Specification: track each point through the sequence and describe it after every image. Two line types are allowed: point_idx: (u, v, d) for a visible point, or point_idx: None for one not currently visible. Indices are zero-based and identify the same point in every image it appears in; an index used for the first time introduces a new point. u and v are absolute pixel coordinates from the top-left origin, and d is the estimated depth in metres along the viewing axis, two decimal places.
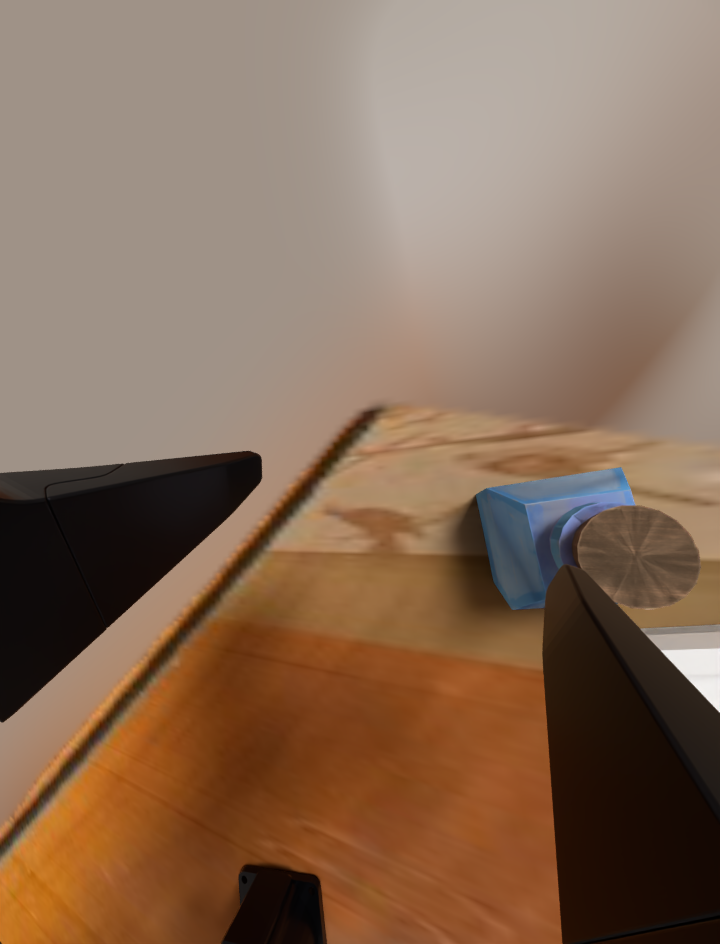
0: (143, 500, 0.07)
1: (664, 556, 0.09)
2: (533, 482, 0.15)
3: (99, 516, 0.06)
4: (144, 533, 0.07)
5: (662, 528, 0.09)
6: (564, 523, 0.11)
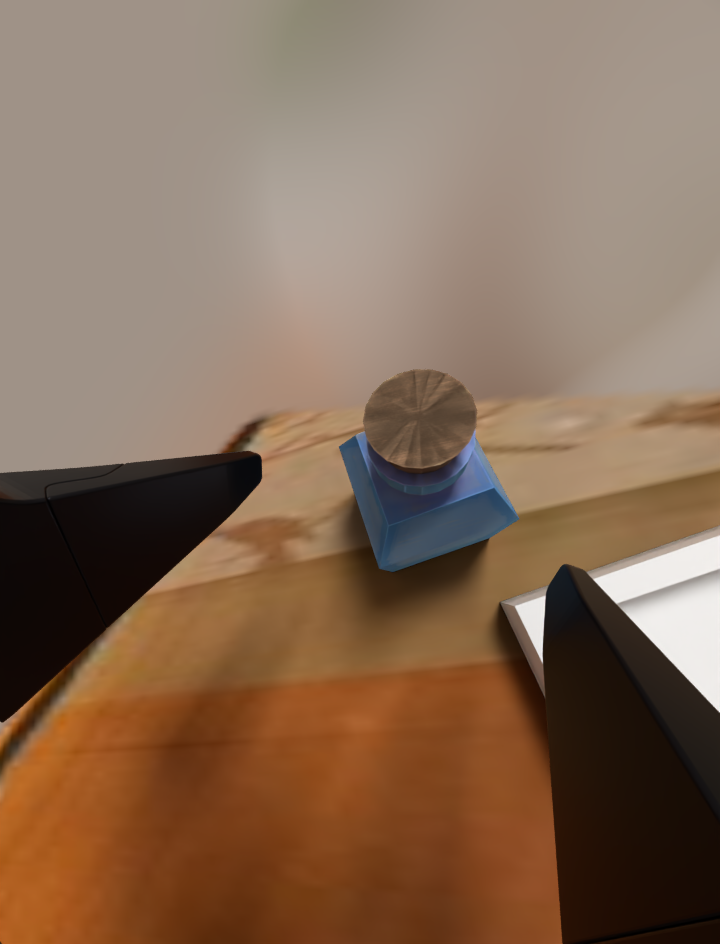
0: (143, 500, 0.07)
1: (443, 409, 0.08)
2: None
3: (99, 516, 0.06)
4: (144, 533, 0.07)
5: (436, 384, 0.09)
6: None
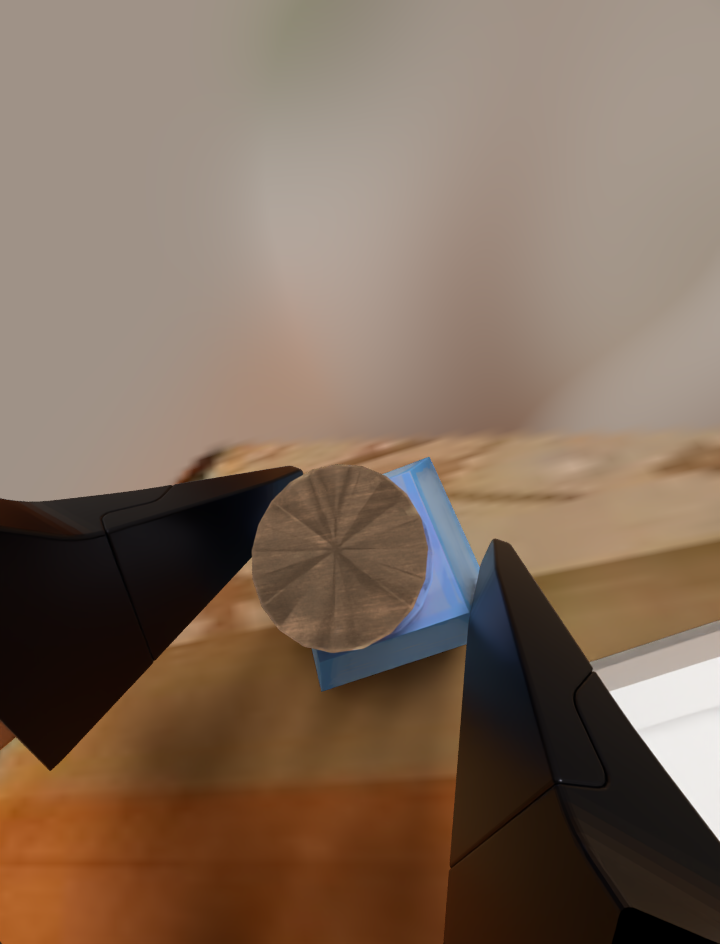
0: (196, 525, 0.06)
1: (375, 540, 0.05)
2: None
3: (154, 546, 0.06)
4: (194, 559, 0.07)
5: (368, 493, 0.05)
6: None
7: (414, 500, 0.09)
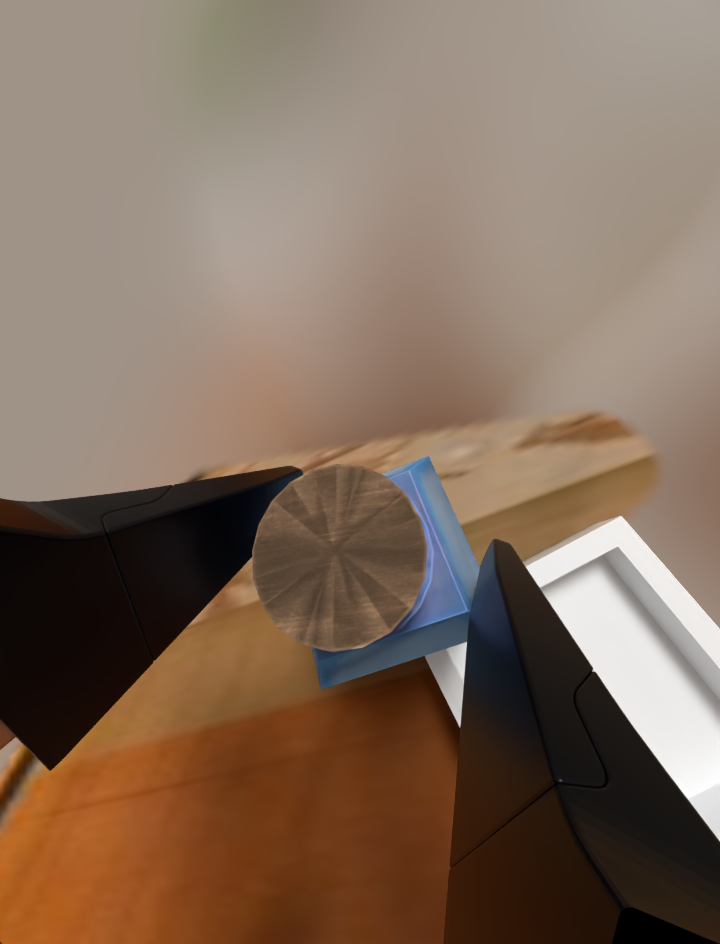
0: (196, 525, 0.06)
1: (374, 540, 0.05)
2: None
3: (154, 546, 0.06)
4: (194, 560, 0.07)
5: (368, 493, 0.06)
6: None
7: (413, 499, 0.09)
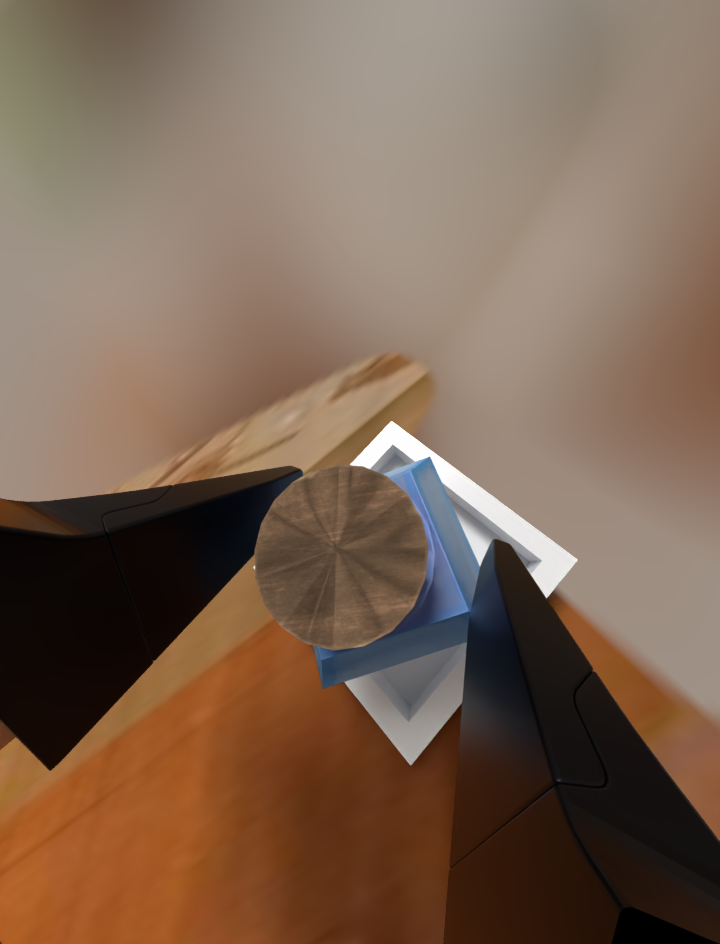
0: (196, 525, 0.06)
1: (376, 539, 0.05)
2: None
3: (154, 546, 0.06)
4: (194, 560, 0.07)
5: (369, 493, 0.06)
6: None
7: (414, 499, 0.09)
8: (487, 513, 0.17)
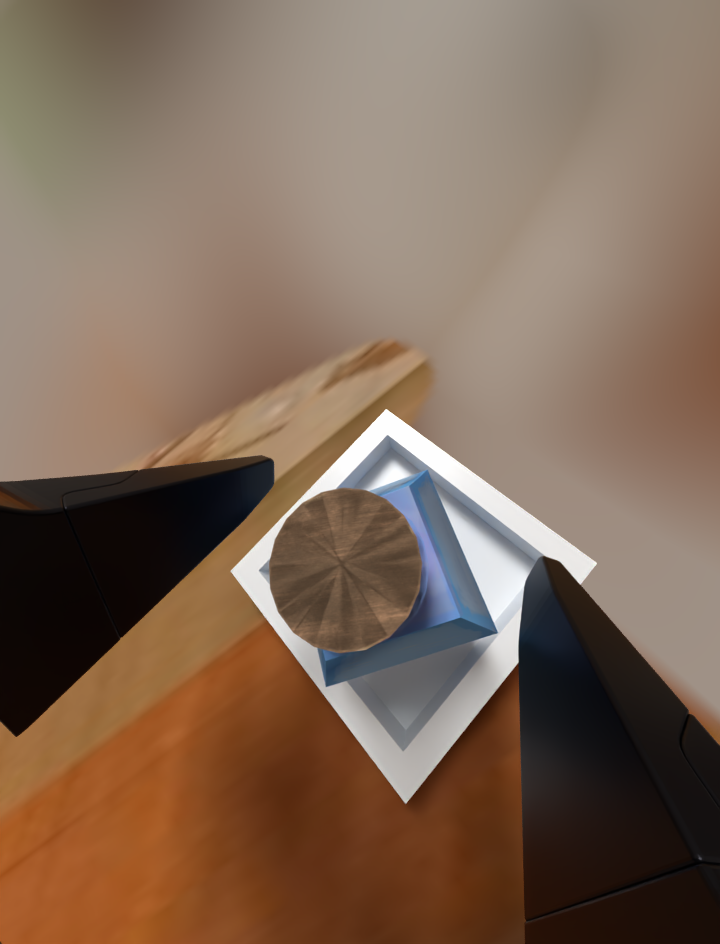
0: (159, 508, 0.07)
1: (376, 556, 0.06)
2: None
3: (116, 525, 0.06)
4: (159, 541, 0.07)
5: (371, 514, 0.06)
6: None
7: (412, 513, 0.09)
8: (493, 511, 0.15)
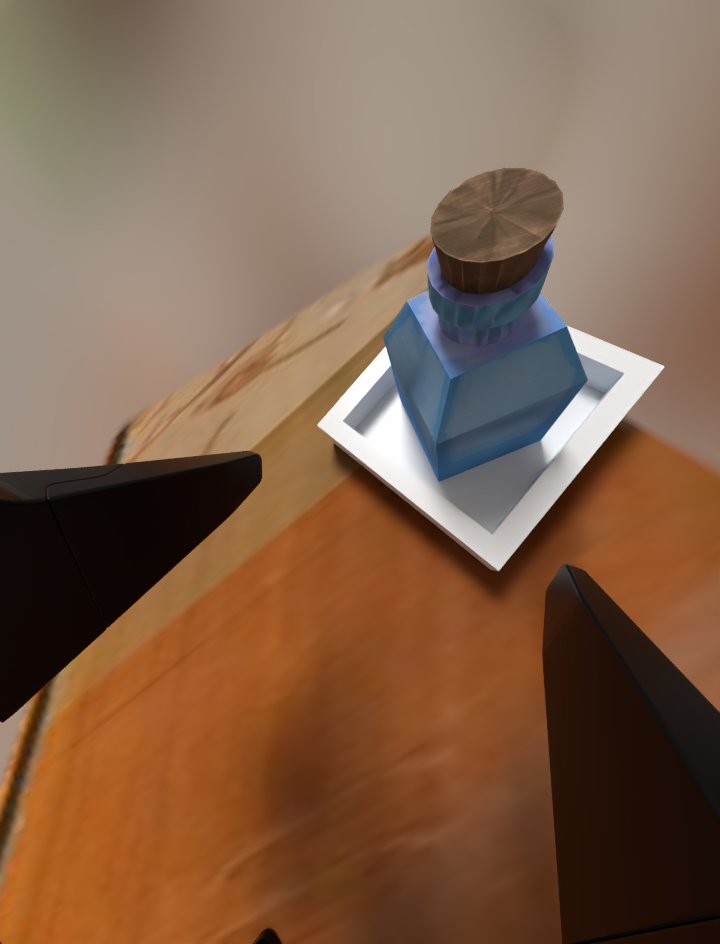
0: (143, 500, 0.07)
1: (522, 201, 0.08)
2: None
3: (99, 516, 0.06)
4: (144, 533, 0.07)
5: (512, 180, 0.08)
6: (430, 259, 0.10)
7: None
8: None
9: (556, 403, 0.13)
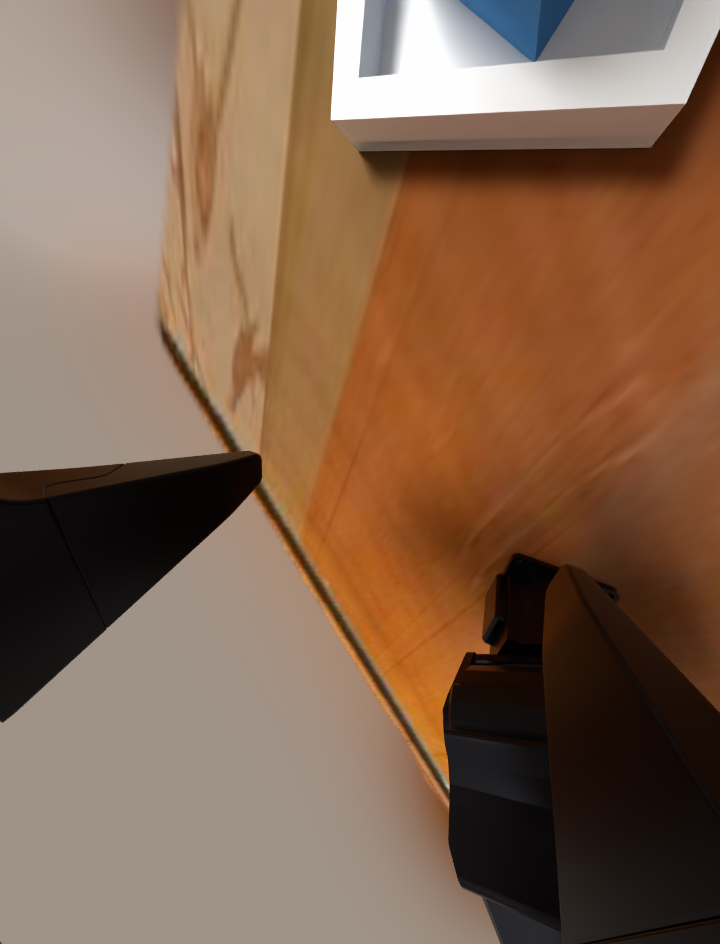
0: (143, 500, 0.07)
1: None
2: None
3: (99, 516, 0.06)
4: (144, 533, 0.07)
5: None
6: None
7: None
8: None
9: None
